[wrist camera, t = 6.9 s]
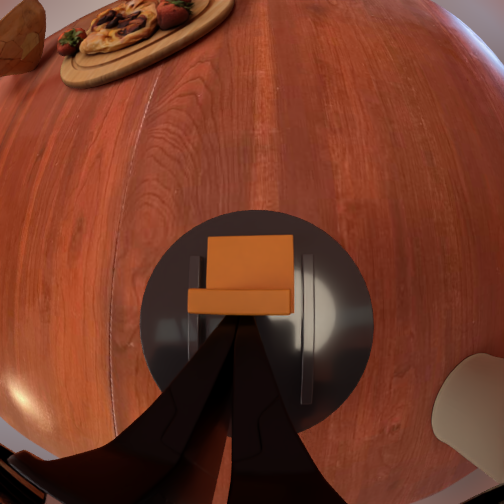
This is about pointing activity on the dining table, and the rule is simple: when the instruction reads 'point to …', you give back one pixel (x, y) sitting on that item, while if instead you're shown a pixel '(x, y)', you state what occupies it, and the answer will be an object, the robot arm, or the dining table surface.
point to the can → (474, 413)
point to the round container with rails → (270, 326)
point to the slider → (247, 277)
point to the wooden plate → (135, 38)
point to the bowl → (22, 38)
